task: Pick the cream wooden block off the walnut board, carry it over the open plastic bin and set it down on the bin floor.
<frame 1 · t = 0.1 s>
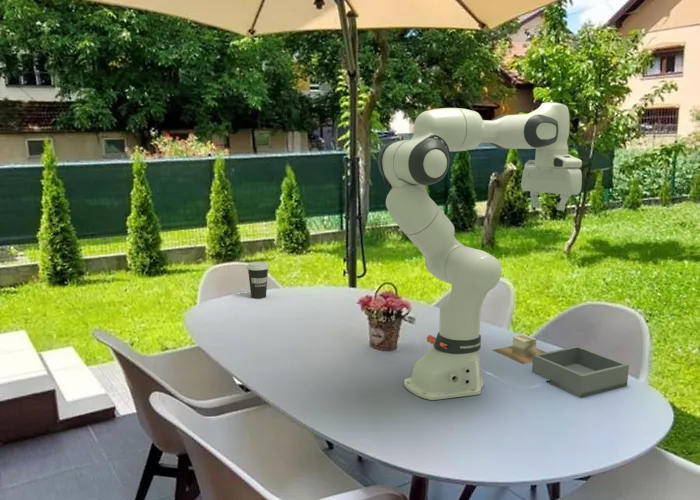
hand: (548, 208, 174), 48 cm above the table, tool pointing down, fingers open, 8 cm apart
walnut board: (523, 356, 190), on the table
cream block: (523, 353, 190), point 1 cm above the table, touching walnut board
coffee cup: (258, 297, 264), on the table
bin: (578, 380, 171), on the table
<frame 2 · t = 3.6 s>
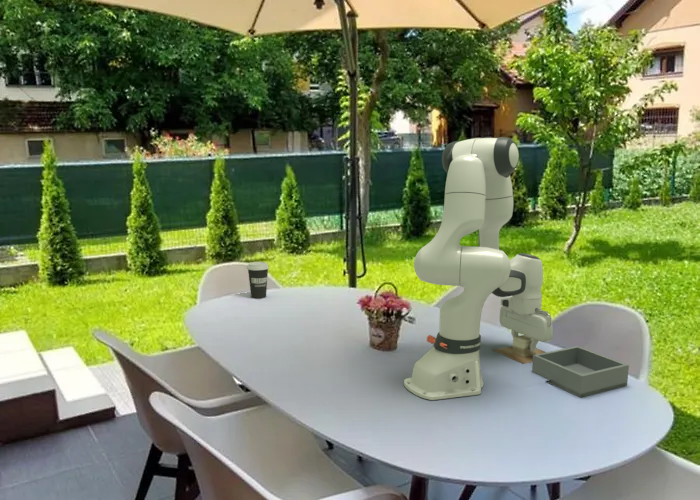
hand: (524, 347, 190), 3 cm above the table, tool pointing down, fingers closed on cream block, 5 cm apart
cream block: (523, 353, 190), point 1 cm above the table, touching gripper, walnut board
everything else where it was.
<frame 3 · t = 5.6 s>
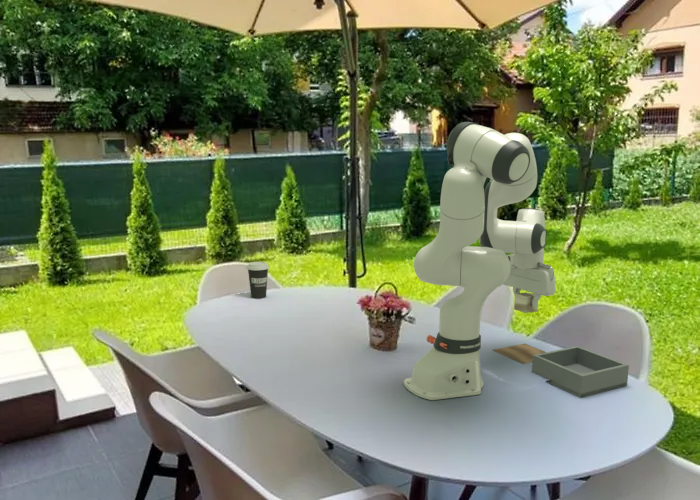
hand: (526, 304, 187), 17 cm above the table, tool pointing down, fingers closed on cream block, 5 cm apart
cream block: (525, 310, 187), point 15 cm above the table, touching gripper
everything else where it was.
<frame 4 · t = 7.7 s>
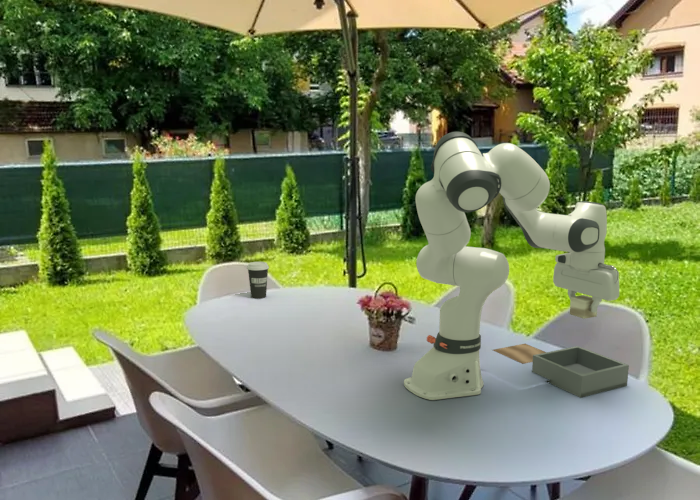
hand: (583, 308, 167), 21 cm above the table, tool pointing down, fingers closed on cream block, 5 cm apart
cream block: (583, 315, 168), point 19 cm above the table, touching gripper
everything else where it was.
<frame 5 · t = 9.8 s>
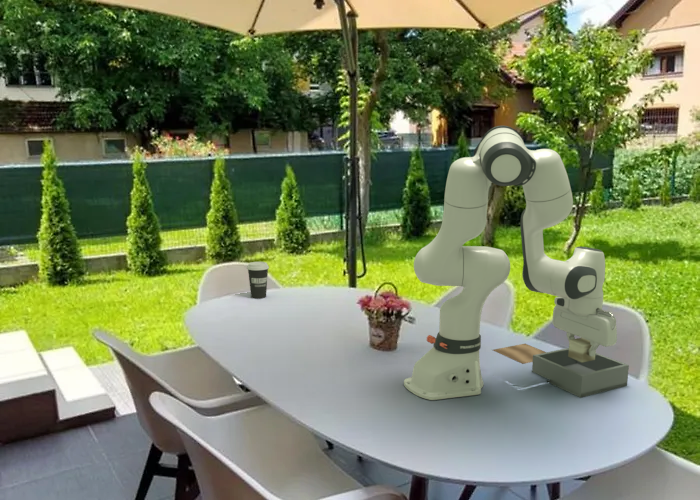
hand: (581, 351, 169), 9 cm above the table, tool pointing down, fingers closed on cream block, 5 cm apart
cream block: (581, 358, 169), point 7 cm above the table, touching gripper
everything else where it was.
when the fingers open (4 cm above the table, at t = 11.6 s): cream block drops 1 cm, resting on bin.
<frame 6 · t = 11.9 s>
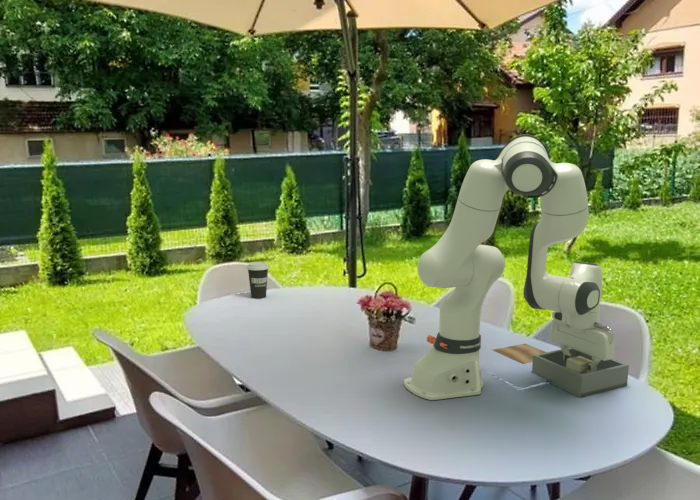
hand: (579, 365, 170), 4 cm above the table, tool pointing down, fingers open, 8 cm apart
cream block: (578, 376, 171), point 1 cm above the table, touching bin
everything else where it was.
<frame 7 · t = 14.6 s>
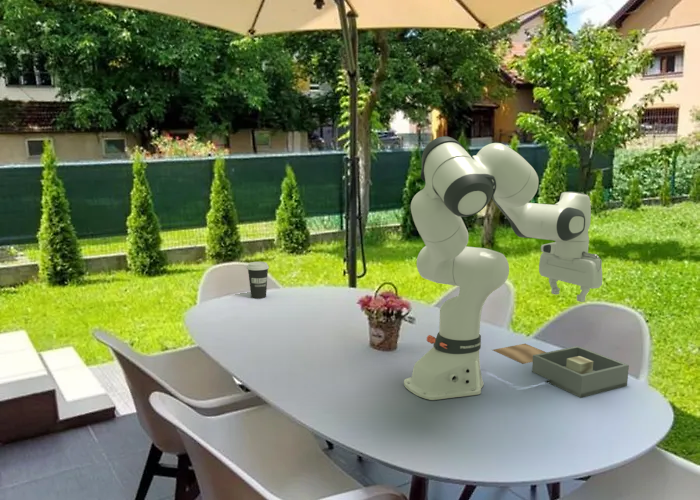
hand: (567, 297, 170), 23 cm above the table, tool pointing down, fingers open, 8 cm apart
nothing on the table moved.
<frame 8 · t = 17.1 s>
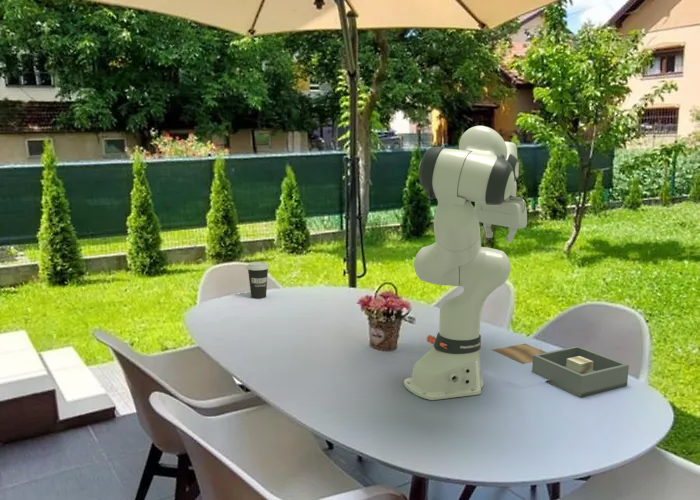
hand: (499, 239, 186), 37 cm above the table, tool pointing down, fingers open, 8 cm apart
nothing on the table moved.
at the end: cream block inside the target area on the bin (0.1 cm from its centre), point 1.0 cm above the bin's base; the gripper is holding nothing; cream block tilted 0° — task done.
